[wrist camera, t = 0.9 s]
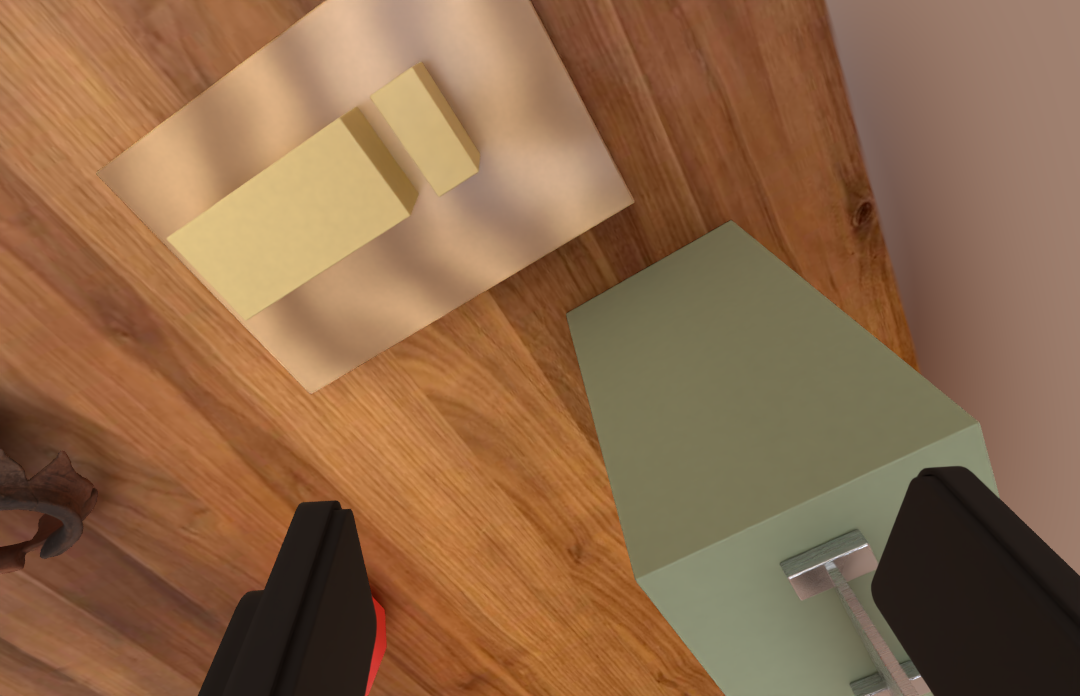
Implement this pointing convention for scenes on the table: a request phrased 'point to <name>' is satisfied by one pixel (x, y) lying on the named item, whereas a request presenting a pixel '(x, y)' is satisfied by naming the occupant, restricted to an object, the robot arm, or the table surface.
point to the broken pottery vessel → (45, 507)
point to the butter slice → (428, 129)
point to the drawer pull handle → (853, 609)
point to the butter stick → (298, 216)
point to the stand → (756, 455)
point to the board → (435, 222)
